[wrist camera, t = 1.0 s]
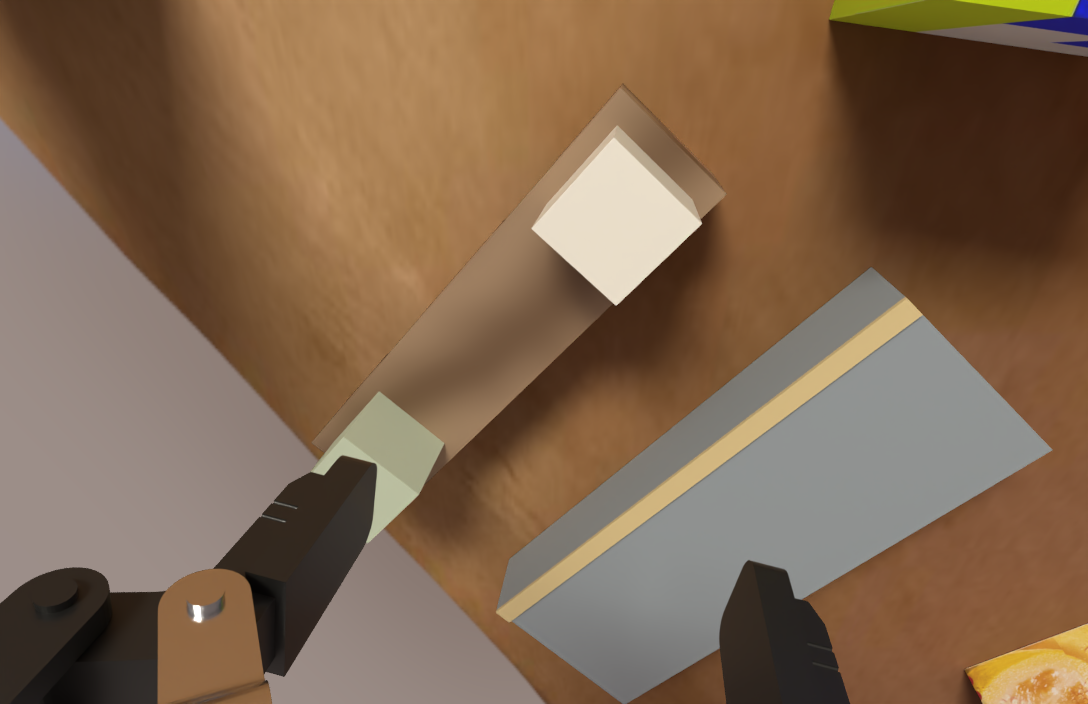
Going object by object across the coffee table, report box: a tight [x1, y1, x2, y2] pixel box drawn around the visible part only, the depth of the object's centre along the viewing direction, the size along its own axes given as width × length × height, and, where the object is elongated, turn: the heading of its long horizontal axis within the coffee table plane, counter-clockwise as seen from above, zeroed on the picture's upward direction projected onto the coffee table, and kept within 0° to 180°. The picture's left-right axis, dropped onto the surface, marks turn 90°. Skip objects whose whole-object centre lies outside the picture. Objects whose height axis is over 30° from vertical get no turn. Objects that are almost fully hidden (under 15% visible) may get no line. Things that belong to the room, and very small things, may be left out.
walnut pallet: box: [311, 84, 726, 486], centre depth 30 cm, size 6×22×4 cm, turn 139°
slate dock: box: [496, 267, 1052, 704], centre depth 33 cm, size 10×26×4 cm, turn 139°
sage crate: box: [310, 392, 444, 543], centre depth 29 cm, size 4×4×4 cm
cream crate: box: [531, 126, 702, 306], centre depth 23 cm, size 4×4×4 cm
